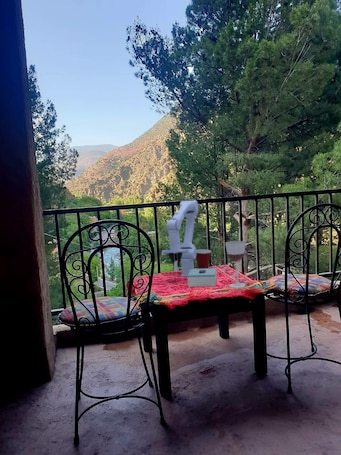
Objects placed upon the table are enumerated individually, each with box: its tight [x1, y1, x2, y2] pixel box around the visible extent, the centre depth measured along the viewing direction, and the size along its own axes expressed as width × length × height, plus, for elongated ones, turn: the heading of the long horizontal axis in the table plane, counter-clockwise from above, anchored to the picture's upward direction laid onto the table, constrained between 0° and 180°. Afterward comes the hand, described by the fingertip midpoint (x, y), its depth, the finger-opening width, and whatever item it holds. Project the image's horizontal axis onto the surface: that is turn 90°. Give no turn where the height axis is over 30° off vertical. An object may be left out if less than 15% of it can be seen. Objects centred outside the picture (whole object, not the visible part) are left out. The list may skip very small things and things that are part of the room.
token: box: [173, 260, 180, 273], centre depth 195 cm, size 5×2×5 cm, turn 169°
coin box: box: [186, 267, 218, 288], centre depth 191 cm, size 14×14×6 cm
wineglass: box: [225, 240, 246, 289], centre depth 180 cm, size 9×10×22 cm
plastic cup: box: [195, 248, 212, 269], centre depth 220 cm, size 11×11×12 cm
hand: (176, 266), depth 195 cm, fingers closed on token, 2 cm apart
